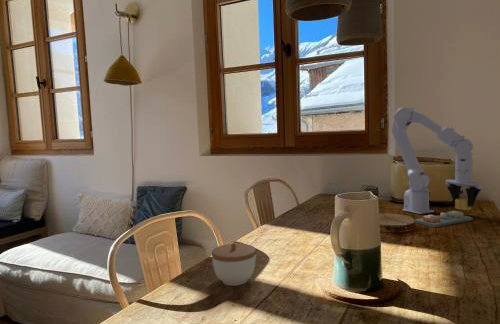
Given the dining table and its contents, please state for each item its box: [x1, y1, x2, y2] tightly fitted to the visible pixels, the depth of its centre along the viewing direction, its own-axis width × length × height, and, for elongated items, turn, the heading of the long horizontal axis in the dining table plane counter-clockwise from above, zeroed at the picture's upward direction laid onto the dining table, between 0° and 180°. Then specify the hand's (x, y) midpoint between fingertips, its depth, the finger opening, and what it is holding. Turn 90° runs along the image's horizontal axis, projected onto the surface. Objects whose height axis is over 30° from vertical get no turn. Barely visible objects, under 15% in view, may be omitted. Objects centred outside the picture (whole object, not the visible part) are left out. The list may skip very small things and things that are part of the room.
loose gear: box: [454, 197, 473, 211], centre depth 145 cm, size 6×6×4 cm
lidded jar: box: [211, 242, 257, 287], centre depth 91 cm, size 11×11×9 cm
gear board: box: [413, 210, 474, 228], centre depth 138 cm, size 9×20×3 cm, turn 113°
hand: (463, 204), depth 145 cm, fingers closed on loose gear, 6 cm apart
